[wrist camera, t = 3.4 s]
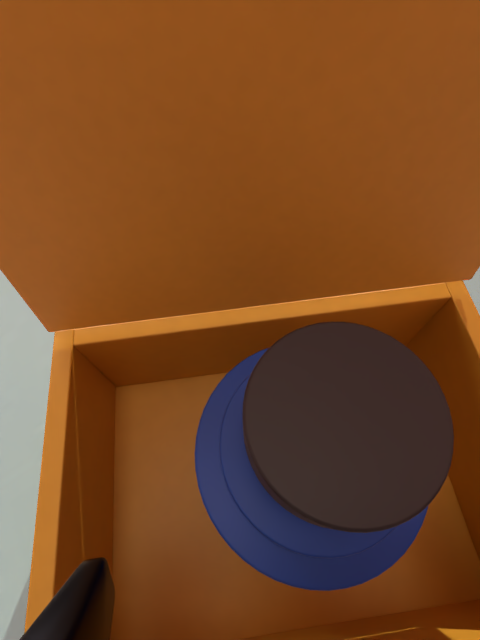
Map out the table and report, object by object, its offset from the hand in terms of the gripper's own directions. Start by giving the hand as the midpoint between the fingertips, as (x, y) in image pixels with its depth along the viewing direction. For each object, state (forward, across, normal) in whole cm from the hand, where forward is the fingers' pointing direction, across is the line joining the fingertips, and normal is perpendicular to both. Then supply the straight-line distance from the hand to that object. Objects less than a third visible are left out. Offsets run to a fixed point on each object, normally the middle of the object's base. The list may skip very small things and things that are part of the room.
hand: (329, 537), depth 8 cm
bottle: (+7, 0, +5) cm, 9 cm away
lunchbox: (+8, 0, +5) cm, 9 cm away
